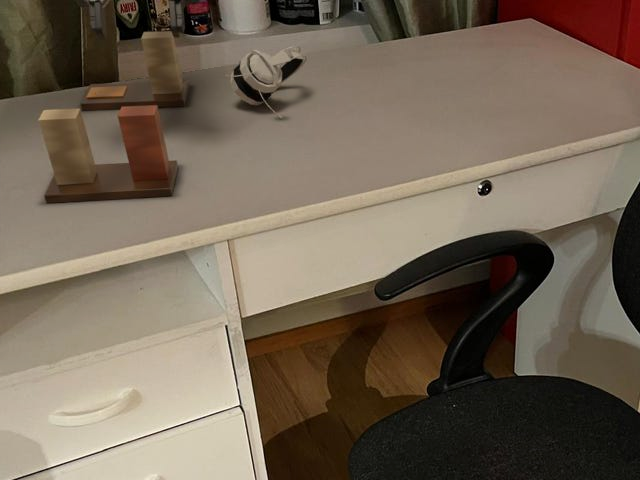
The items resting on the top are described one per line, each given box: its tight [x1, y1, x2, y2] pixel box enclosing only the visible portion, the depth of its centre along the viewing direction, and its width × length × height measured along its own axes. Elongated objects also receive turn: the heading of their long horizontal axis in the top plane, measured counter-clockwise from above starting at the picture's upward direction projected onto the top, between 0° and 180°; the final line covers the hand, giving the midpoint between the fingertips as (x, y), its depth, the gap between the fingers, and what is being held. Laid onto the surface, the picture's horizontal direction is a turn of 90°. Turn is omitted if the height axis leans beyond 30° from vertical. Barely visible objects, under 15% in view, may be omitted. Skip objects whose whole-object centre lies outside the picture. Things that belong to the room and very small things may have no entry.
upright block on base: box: [80, 30, 190, 111], centre depth 124 cm, size 14×8×9 cm, turn 100°
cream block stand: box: [37, 108, 179, 204], centre depth 101 cm, size 14×8×9 cm, turn 100°
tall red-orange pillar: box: [117, 105, 170, 181], centre depth 102 cm, size 4×3×8 cm
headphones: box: [223, 45, 307, 119], centre depth 122 cm, size 8×10×20 cm
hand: (138, 35), depth 104 cm, fingers open, 8 cm apart
